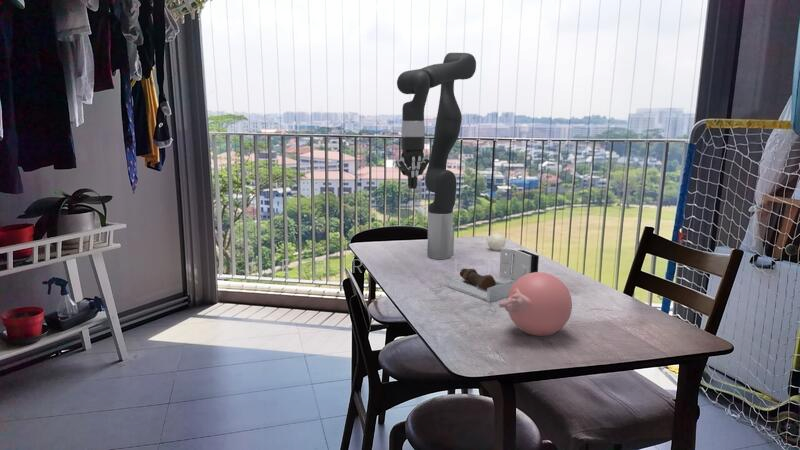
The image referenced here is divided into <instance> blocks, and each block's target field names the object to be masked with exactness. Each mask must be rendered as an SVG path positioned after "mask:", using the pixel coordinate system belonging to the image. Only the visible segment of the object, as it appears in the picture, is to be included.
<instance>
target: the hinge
mask: <svg viewBox="0 0 800 450" xmlns="http://www.w3.org/2000/svg"><path fill="white" fill-rule="evenodd" d="M499 257H500V259H499V277H498V278H501V279H509V280H512V281H514V282H516V281H517V280H518V279H519V278H520V277H522V276H524V275H526V274H529V273H534V272H539V263H540V261H539V259H540V255H539V254H538V253H534V252H533V251H529V250H527V249H522V248H519V247H512V248H508V247H507V248H505V247H503V248H501V250H500V255H499Z"/></svg>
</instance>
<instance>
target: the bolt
mask: <svg viewBox="0 0 800 450" xmlns="http://www.w3.org/2000/svg"><path fill="white" fill-rule="evenodd" d="M459 276H460V277H461V279H462V278H464V280H465V282H466V283H468V284H471V283H474V284H476V285H478V287H479V288H481V289H484V290H486V291H487V288H489V287H492V286H495V285H496V282H495V280H496V279H495V277H493V275H491V274H484V275H482V276H481V274H479V273H478V271H477V270H476V269H475V268H462V269H460V272H459Z"/></svg>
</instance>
